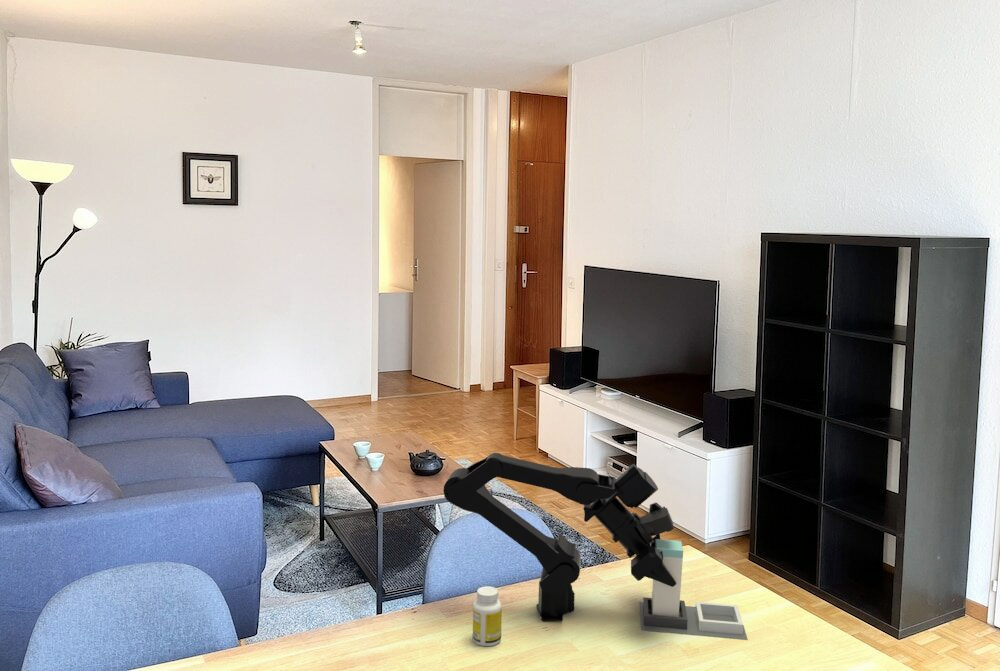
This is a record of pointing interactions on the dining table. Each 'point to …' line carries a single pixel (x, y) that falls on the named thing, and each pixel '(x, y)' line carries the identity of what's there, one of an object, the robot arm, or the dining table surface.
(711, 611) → the board
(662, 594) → the plug
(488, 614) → the supplement bottle
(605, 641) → the dining table surface
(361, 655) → the dining table surface
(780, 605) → the dining table surface
